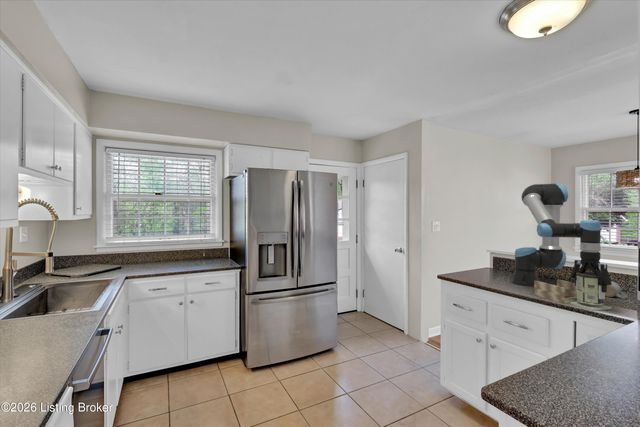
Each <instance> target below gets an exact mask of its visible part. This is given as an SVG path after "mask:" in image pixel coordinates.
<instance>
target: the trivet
mask: <svg viewBox="0 0 640 427" xmlns="http://www.w3.org/2000/svg"><path fill="white" fill-rule="evenodd" d="M569 304H571V305H574V306H577V307H580V308H584V309H587V310H590V311H602V310H604V311H605V310H613V307H612V306H607V305H605V304H604V305H590V304H585V303H581V302H578V301H577V302H570V303H569Z"/></svg>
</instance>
